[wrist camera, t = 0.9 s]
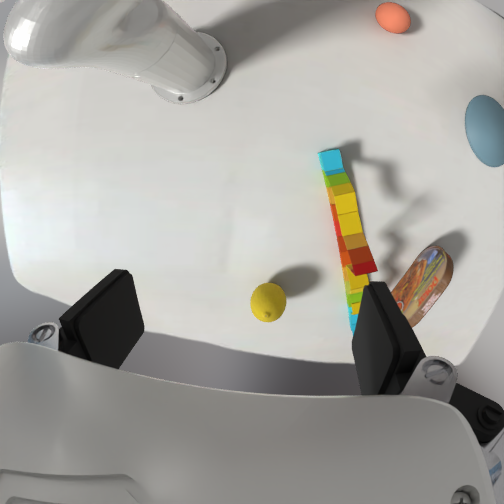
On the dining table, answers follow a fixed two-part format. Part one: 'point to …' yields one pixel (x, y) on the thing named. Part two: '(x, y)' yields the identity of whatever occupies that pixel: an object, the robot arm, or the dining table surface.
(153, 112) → the dining table surface
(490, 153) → the disc
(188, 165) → the dining table surface
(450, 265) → the tin
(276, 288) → the lemon
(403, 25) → the ball
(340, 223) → the chart
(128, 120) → the dining table surface
